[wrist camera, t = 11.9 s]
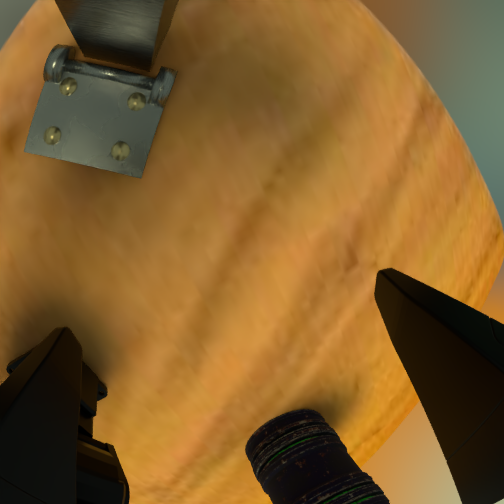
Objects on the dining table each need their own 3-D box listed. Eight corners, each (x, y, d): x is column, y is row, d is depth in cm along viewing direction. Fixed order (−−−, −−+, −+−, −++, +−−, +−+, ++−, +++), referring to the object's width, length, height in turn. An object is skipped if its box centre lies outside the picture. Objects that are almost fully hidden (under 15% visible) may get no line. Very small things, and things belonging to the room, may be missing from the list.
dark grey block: (149, 71, 16) (167, -10, 7) (84, 56, 15) (40, -28, 5) (170, 25, 16) (209, -76, 6) (106, 11, 14) (93, -95, 4)
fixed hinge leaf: (140, 177, 18) (141, 180, 16) (30, 151, 15) (16, 152, 13) (175, 76, 17) (180, 66, 15) (64, 50, 14) (55, 39, 12)
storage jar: (232, 434, 28) (294, 557, 15) (319, 394, 30) (405, 496, 17) (256, 473, 32) (308, 567, 19) (327, 439, 34) (392, 522, 21)
